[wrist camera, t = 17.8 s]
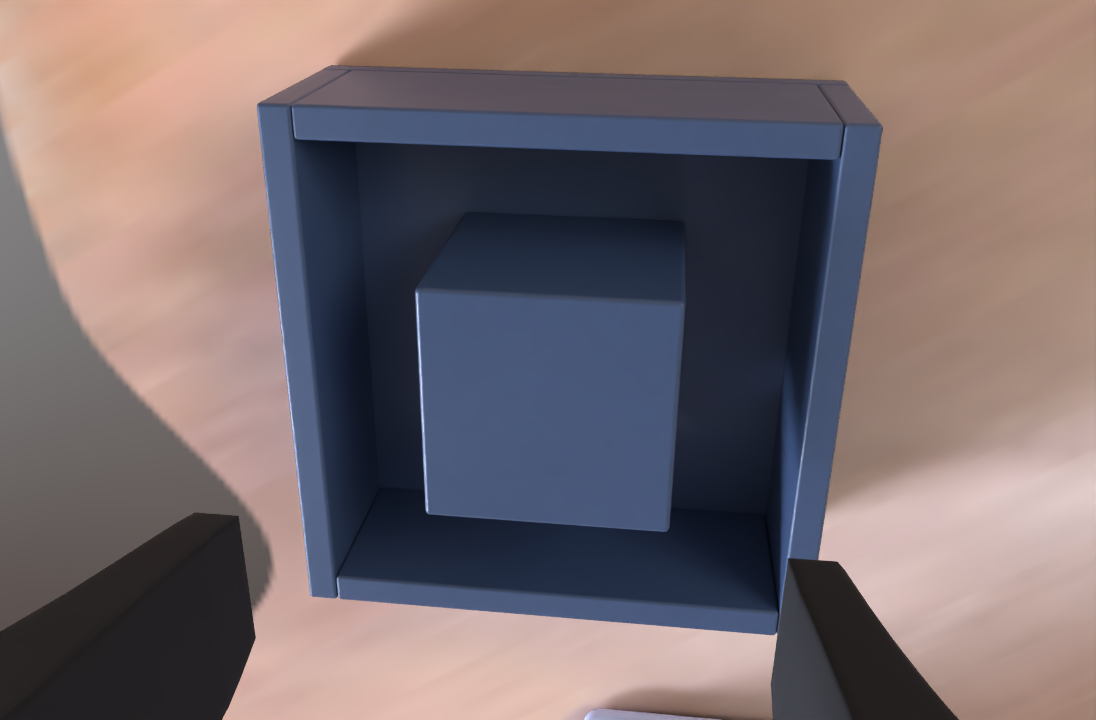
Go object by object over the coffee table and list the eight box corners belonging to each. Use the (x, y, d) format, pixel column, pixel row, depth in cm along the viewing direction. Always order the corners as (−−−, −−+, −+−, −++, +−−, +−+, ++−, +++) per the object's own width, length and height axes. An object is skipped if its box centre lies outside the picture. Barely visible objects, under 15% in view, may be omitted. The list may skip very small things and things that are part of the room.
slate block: (469, 404, 23) (424, 515, 19) (464, 209, 21) (413, 288, 17) (670, 416, 22) (668, 534, 18) (684, 220, 21) (685, 303, 16)
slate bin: (362, 494, 25) (309, 598, 21) (329, 64, 21) (255, 103, 17) (787, 525, 24) (807, 639, 20) (846, 80, 20) (884, 125, 16)
